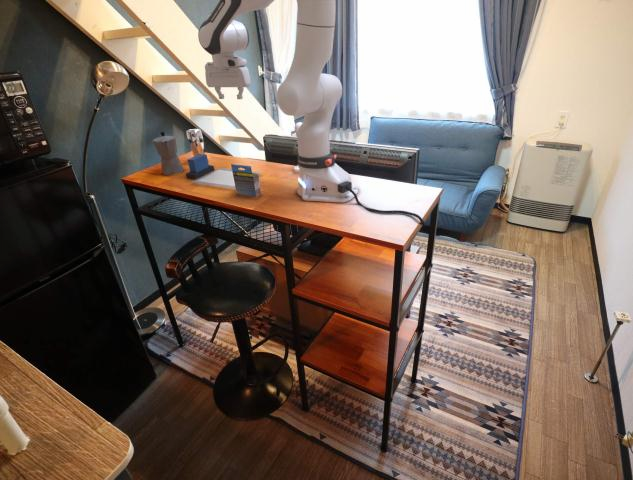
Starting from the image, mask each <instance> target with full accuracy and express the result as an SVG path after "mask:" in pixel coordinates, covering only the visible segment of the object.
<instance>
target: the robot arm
mask: <svg viewBox="0 0 633 480" xmlns="http://www.w3.org/2000/svg"><path fill="white" fill-rule="evenodd" d="M274 1H275V0H219V1H218V3H217V4H216V6H215V7H214V9H213V11H212V12H211V13H209V14H207V16H206V20H204V21H203V22H201V25H200V27H199V29H198V33H197V36H198V37H197V38H198V42H199V44H200V46H201V48H202V49H203V50H204V51H206V53H208V54H209V55H211V60H212V61H211V62H210V61H208V62H206V63H205V65H204V70H205V71H204V72H205V73H204V74H205V84H206V86H207V87H208V88H214V91H215V92H216V94H217V95H218V99H219V100H224V99H225V94H224V93H222V91H221V90H222V88H237V91H238V94H236V99H237V100H243V98H244V97H243V93H244V90H245V89H244V88H249V87H250V86H251V84H252V82H251V75H250V70H249V68H248V67H247V65H248V60H247V59H245V58H243V57H240V56H238V55H236V53H235V52H237V53H238V52H242V51H245V50H246V49H247V48H248V47H249V44H250V33H249V30H248V29H247V27H246V25H245V24H244V23H243V22H241V21H237V20H235V19H236V18H237V17H239V16H240V15H243V14H247V13H250V12H255V11H260V10H264V9H267V8H268V7H269V6H270V5H271V4H272V3H273V2H274ZM296 4H297V7H296V8H297V10H296V14H297V15H296V27H295V29H296V30H295V45H294V53H293V57H292V61H291V64H290V68H289V70H288V73H287V75H286V77H285V78H284V79H283V81H282V83H281V84H280V85H279V86H278V88H277V90H276V103H277V106H278V108H279V110H280V111H281V112H282V113H283V114H284V115H286V116H292V117H293V116H294V117H300V116H301V117H302V116H304V117H303V120H302V122H301V123H302V124H301V126H300V127H299V129H298V131H297V132H296V139H297V151H298V153H297V165H298V166H299V173H298V174H299V175H298V176H299V177H298V178H297V179H298V186H297V190H296V192H297V194H298V195H299V196H300V197H301V199H302V201H306V202H321V203H322V202H326V203H343V204H344V203H346V202H349V201H351V200H353V199H354V200H355V202H356V203H357V204H358V206H360V207H362V208H363V209H364V210H366V211H369V212H373V213H378V214H404V215H408V216H412V217H416V218H417V219H418V220H419V221H420V223H421V224H422V226H427V224H426V222H425V221H424V219H423V218H422V217H421V216H420V215H419V214H418V213H415V212H410V211H407V210H397V209H396V210H382V209H376V208H372V207H371V208H370V207H367V206H365V205H363V204H362V203H361V201H359V198H358V194H359V193H358V192H359V187H358V186H357V185H354V184H353V182H352V178H351V175H350V174H349V173H348V172H347V171H346V170H344V169H343V168H342V167H341V166H340V165H338V164H337V163H336V159H337V158H338V157H337V154H334V155H333V154H332V152H331V149H330V147H331V145H330V143H331V141H330V140H331V139H330V133H331V131H330V130H331V124H332V119H333V116H334V113H335V109H336V107H337V105H338V103H339V102H340V100H341V98H342V97H343V85H342V82H341V81H340V79H339V78H338V77H337V76H336V75H334V74H330V73H323V69H324V67H325V65H326V64H327V63H328V62H329V61H330V59H331V57H332V55H333V48H334V36H335V29H336V27H335V25H336V12H337V11H336V10H337V9H336V8H337V7H336V0H296ZM429 259H430V258H425V267H424V277H423V286H422V292H421V298H420V304H419V310H418V318H417V326H418V327H420V326H421V321H422V312H423V307H424V306H423V305H424V301H425V300H424V299H425V293H426V287H427V279H428V272H429V261H430V260H429Z"/></svg>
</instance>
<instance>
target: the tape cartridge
mask: <svg viewBox="0 0 633 480" xmlns="http://www.w3.org/2000/svg"><path fill="white" fill-rule="evenodd" d="M230 167H231V170H232V172H233V177H234V182H235V187H236V188H235V191H236V192H235V193H236V194H237V195H241V196H242V195H243V196H247V197H258V196H259V195H261V194H262V188H261V182H260V176H259V175H260V174H259V175H258V174H256V173H257V172H256V173H252V172H253V169H252V166H251V165H243V164H234V163H231V164H230Z"/></svg>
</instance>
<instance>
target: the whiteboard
mask: <svg viewBox="0 0 633 480" xmlns="http://www.w3.org/2000/svg"><path fill="white" fill-rule="evenodd" d="M252 173H256V174H258V175H260V174H261V172H254V171H252ZM192 183H194V184H200V185H208V186H215V187H219V188H220V187H221V188H226V189H233V190H236V187H235V182H234V177H233V172H232V168H231V169H230V168H222V167H220V168H217V169H215V170H214V171H212V172H210V173H208V174H206V175H204V176H202V177H200V178H198V179H196V180H195V179H194V180H193V181H192Z"/></svg>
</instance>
